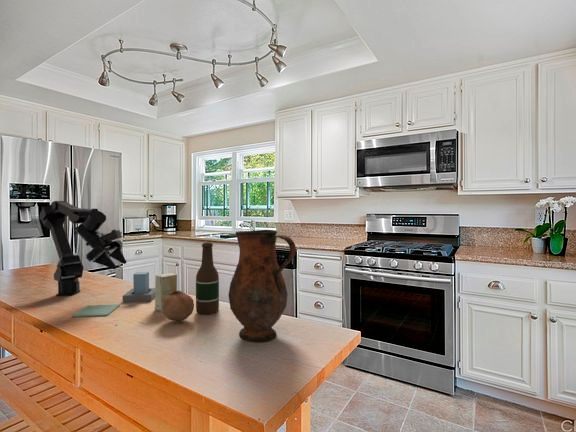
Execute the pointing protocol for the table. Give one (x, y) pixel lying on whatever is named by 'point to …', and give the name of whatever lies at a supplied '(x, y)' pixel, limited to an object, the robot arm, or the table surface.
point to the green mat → (96, 310)
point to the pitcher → (259, 284)
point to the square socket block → (139, 296)
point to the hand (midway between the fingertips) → (120, 265)
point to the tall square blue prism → (141, 282)
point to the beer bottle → (207, 284)
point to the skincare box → (164, 288)
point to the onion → (178, 306)
